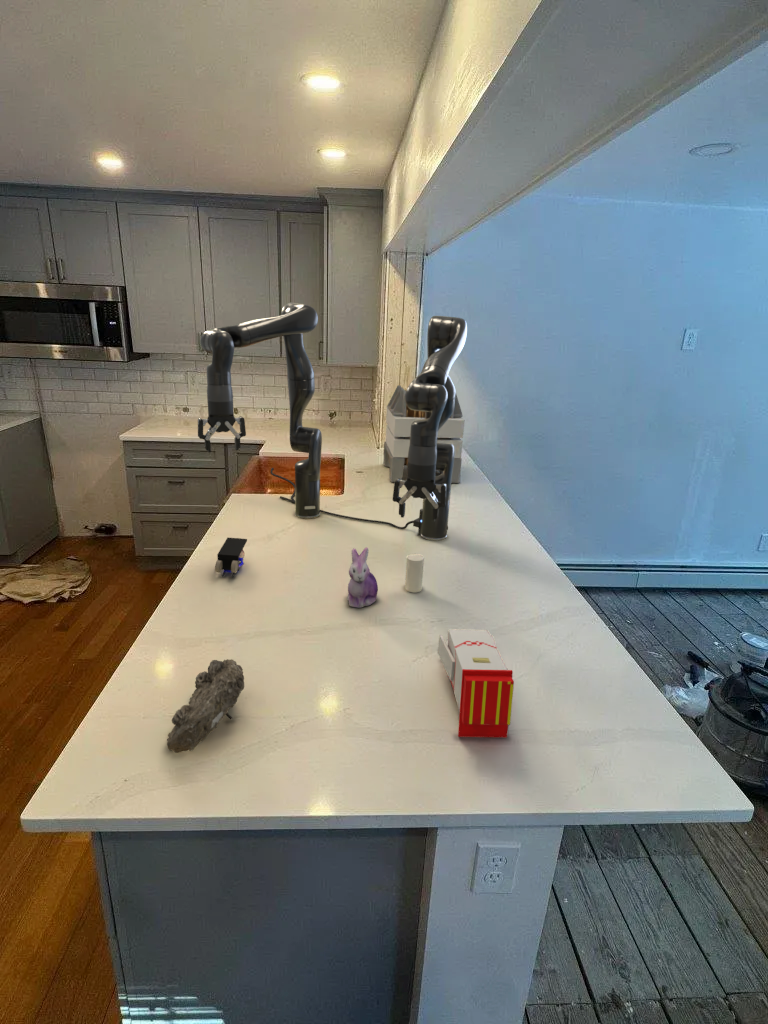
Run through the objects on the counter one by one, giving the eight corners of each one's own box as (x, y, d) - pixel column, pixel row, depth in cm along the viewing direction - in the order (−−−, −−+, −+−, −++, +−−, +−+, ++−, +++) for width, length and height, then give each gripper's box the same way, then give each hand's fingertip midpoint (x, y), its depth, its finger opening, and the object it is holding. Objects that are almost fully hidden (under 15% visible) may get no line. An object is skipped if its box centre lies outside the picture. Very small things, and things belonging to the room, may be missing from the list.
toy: (488, 613, 130) (523, 677, 101) (484, 667, 133) (517, 744, 104) (435, 612, 130) (455, 676, 101) (432, 666, 133) (451, 743, 103)
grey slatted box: (382, 463, 289) (386, 382, 275) (445, 464, 293) (451, 384, 279) (390, 482, 257) (394, 392, 243) (460, 483, 261) (468, 394, 247)
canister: (402, 590, 160) (404, 558, 157) (407, 583, 164) (409, 552, 161) (418, 593, 158) (421, 562, 155) (423, 586, 163) (426, 555, 159)
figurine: (354, 612, 147) (355, 559, 142) (338, 595, 155) (339, 544, 150) (386, 605, 151) (388, 553, 146) (369, 588, 160) (371, 539, 155)
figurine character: (238, 584, 162) (249, 557, 175) (236, 562, 158) (247, 536, 172) (215, 584, 161) (227, 556, 175) (212, 561, 158) (225, 535, 171)
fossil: (192, 660, 117) (244, 628, 112) (224, 691, 120) (276, 661, 115) (142, 746, 98) (202, 712, 93) (182, 779, 101) (242, 748, 96)
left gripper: (240, 396, 179) (243, 446, 184) (193, 397, 173) (197, 449, 178) (246, 400, 172) (248, 452, 178) (198, 401, 166) (201, 455, 172)
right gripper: (392, 461, 147) (389, 520, 152) (447, 466, 144) (442, 526, 149) (398, 454, 154) (395, 511, 159) (450, 459, 151) (445, 517, 156)
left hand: (223, 450), depth 178 cm, fingers open, 8 cm apart
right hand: (418, 518), depth 154 cm, fingers open, 8 cm apart
